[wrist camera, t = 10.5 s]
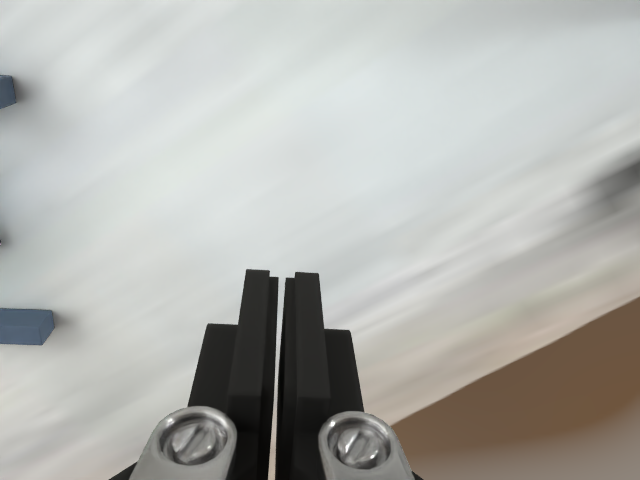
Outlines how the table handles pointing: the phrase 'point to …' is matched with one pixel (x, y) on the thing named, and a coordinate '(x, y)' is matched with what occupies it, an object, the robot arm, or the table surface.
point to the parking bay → (21, 322)
